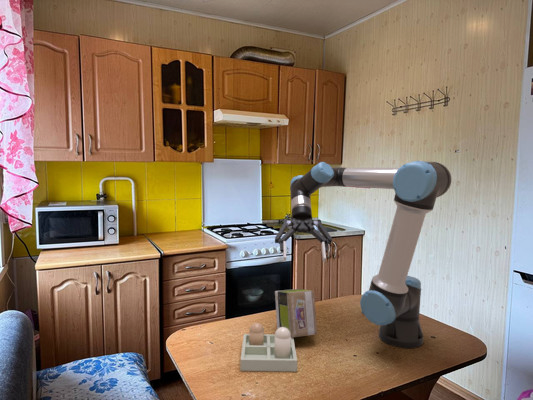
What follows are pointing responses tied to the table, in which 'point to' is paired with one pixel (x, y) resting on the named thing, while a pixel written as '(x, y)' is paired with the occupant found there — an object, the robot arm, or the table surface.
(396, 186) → the robot arm
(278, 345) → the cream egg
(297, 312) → the tea box
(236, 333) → the table surface
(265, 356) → the carton
